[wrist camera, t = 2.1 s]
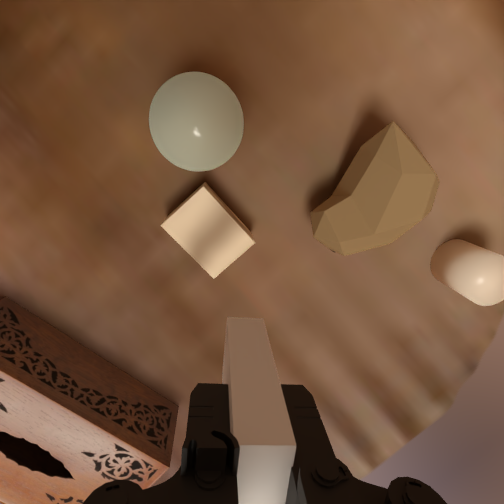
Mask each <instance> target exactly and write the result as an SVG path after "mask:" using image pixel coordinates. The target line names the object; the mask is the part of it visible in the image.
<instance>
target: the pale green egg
mask: <svg viewBox="0 0 504 504" xmlns="http://www.w3.org/2000/svg"><path fill="white" fill-rule="evenodd" d="M149 127H150V132H151V135H152V138H153V141H154V143H155V145H156V146H157V148H158V150H159V151H160V152H161V154H162V155H163V156H164V157H165V158H166V159H167V160H169V161H170V162H171V163H173V164H174V165H176V166H178V167H180V168H182V169H186V170H189V171H208V170H212V169H215V168H217V167H219V166H221V165H223V164H224V163H225V162H227V161H228V160H229V159H230V158H231V157H232V156H233V155H234V153H235V152H236V150H237V149H238V147H239V145H240V142H241V139H242V136H243V130H244V118H243V112H242V108H241V105H240V103H239V101H238V99H237V97H236V95H235V94H234V92H233V91H232V90H231V89H230V88H229V86H227V85H226V84H225V83H224V82H223V81H221V80H220V79H218V78H217V77H215V76H213V75H210V74H207V73H203V72H185V73H181V74H179V75H176V76H174V77H172V78H170V79H169V80H168V81H166V82H165V83H164V84H163V85H162V86H161V87H160V88H159V90H158V91H157V93H156V94H155V96H154V98H153V100H152V103H151V106H150V111H149Z"/></svg>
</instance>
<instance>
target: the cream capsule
mask: <svg viewBox="0 0 504 504" xmlns="http://www.w3.org/2000/svg"><path fill="white" fill-rule="evenodd" d="M430 268H431V272H432V274H433V276H434V277H435V278H436V279H437V280H439V281H440V282H442V283H443V284H445V285H447V286H448V287H450V288H451V289H453V290H455V291H456V292H458V293H459V294H461V295H463V296H464V297H466V298H468V299H469V300H471V301H472V302H474V303H476V304H478V305H482V306H490V305H494V304H497V303H499V302H501V301H502V300H504V256H502V255H500V254H497V253H495V252H492V251H490V250H487V249H485V248H482V247H479V246H477V245H474V244H472V243H469V242H467V241H464V240H461V239H453V240H449V241H447V242H445V243H443V244H442V245H440V246H439V247H438V248H437V249H436V251H435V252H434V254H433V256H432V258H431V263H430Z"/></svg>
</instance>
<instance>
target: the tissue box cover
mask: <svg viewBox="0 0 504 504" xmlns="http://www.w3.org/2000/svg"><path fill="white" fill-rule="evenodd" d="M177 414H178V406H177V405H175V404H174V403H172V402H171V401H169V400H167V399H166V398H164V397H163V396H161V395H160V394H158V393H156V392H155V391H153V390H152V389H150V388H149V387H147V386H145V385H144V384H142V383H141V382H139V381H138V380H136V379H134V378H133V377H131V376H130V375H128V374H127V373H125V372H123V371H122V370H120V369H119V368H117V367H116V366H114V365H112V364H111V363H109V362H108V361H106V360H104V359H103V358H101V357H100V356H98V355H97V354H95V353H93V352H92V351H90V350H89V349H87V348H86V347H84V346H82V345H81V344H79V343H78V342H76V341H75V340H73V339H71V338H70V337H68V336H67V335H65V334H64V333H62V332H60V331H59V330H57V329H56V328H54V327H53V326H51V325H49V324H48V323H46V322H45V321H43V320H42V319H40V318H38V317H37V316H35V315H34V314H32V313H31V312H29V311H27V310H26V309H24V308H23V307H21V306H20V305H18V304H16V303H15V302H13V301H12V300H10V299H9V298H7V297H4V298H3V299H1V300H0V503H2V504H83V502H84V501H85V500H86V499H87V497H88V496H89V495H90V494H91V493H92V492H93V491H94V490H95V489H97V488H98V487H100V486H101V485H103V484H105V483H107V482H111V481H114V480H130V481H132V482H135V483H137V484H139V486H140V487H141V488H142V489H147V488H150V487H151V486H152V485H153V484H154V483H155V482H156V481H157V480H158V479H159V478H160V477H161V476H162V475H163V474H164V473H165V472H166V471H167V470H168V469H169V467H170V461H171V454H172V447H173V441H174V434H175V427H176V421H177Z"/></svg>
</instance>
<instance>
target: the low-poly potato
mask: <svg viewBox="0 0 504 504" xmlns="http://www.w3.org/2000/svg"><path fill="white" fill-rule="evenodd" d="M439 183H440V182H439V179H438V177H437V174H436V173H435V171H434V170H433V169H432V167H431V166H430V164H429V163H428V162H427V160H426V159H425V158H424V156H423V155H422V153H421V152H420V151H419V149H418V148H417V146H416V145H415V144H414V142H413V141H412V140H411V139H410V138H409V137H408V136H407V135H406V134H405V133H404V132H403V131H402V130H401V129H400V128H399V126H398V125H397V124H396V123H395V122H394V121H392V122H391V123H390V124H389V125H387V126H386V127H385V128H384V129H382V130H381V131H380V132H378V133H377V134H376V135H375V136H373V137H372V138H371V139H370V140H368V141H367V142H366V143H364V144H363V145H362V146H361V147H360V149H359V151H358V152H357V154H356V156H355V157H354V159H353V161H352V162H351V164H350V166H349V167H348V169H347V171H346V172H345V174H344V176H343V177H342V179H341V181H340V182H339V184H338V186H337V187H336V189H335V191H334V192H333V194H332V196H331V197H330V198H328V199H327V200H326V201H324V202H323V203H322V204H321V205H319V206H318V207H317V208H315V209H314V210H313V211H312V212H310V215H311V222H312V230H313V237H314V238H315V239H316V240H318V241H319V242H320V243H322V244H323V245H325V246H326V247H327V248H329V249H330V250H332V251H333V252H337V253H339V254H341V255H343V256H347V255H350V254H354V253H358V252H362V251H365V250H369V249H373V248H376V247H380V246H384V245H388V244H391V243H392V242H394V241H395V240H396V239H397V238H399V237H400V236H401V235H403V234H404V233H405V232H407V231H408V230H409V229H411V228H412V227H413V226H415V225H416V224H417V223H418V222H420V221H421V220H422V219H423V218H424V217H425V216H426V215H427V214H428V213H429V212H430V211H431V209H432V206H433V203H434V199H435V196H436V193H437V189H438V186H439Z"/></svg>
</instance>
